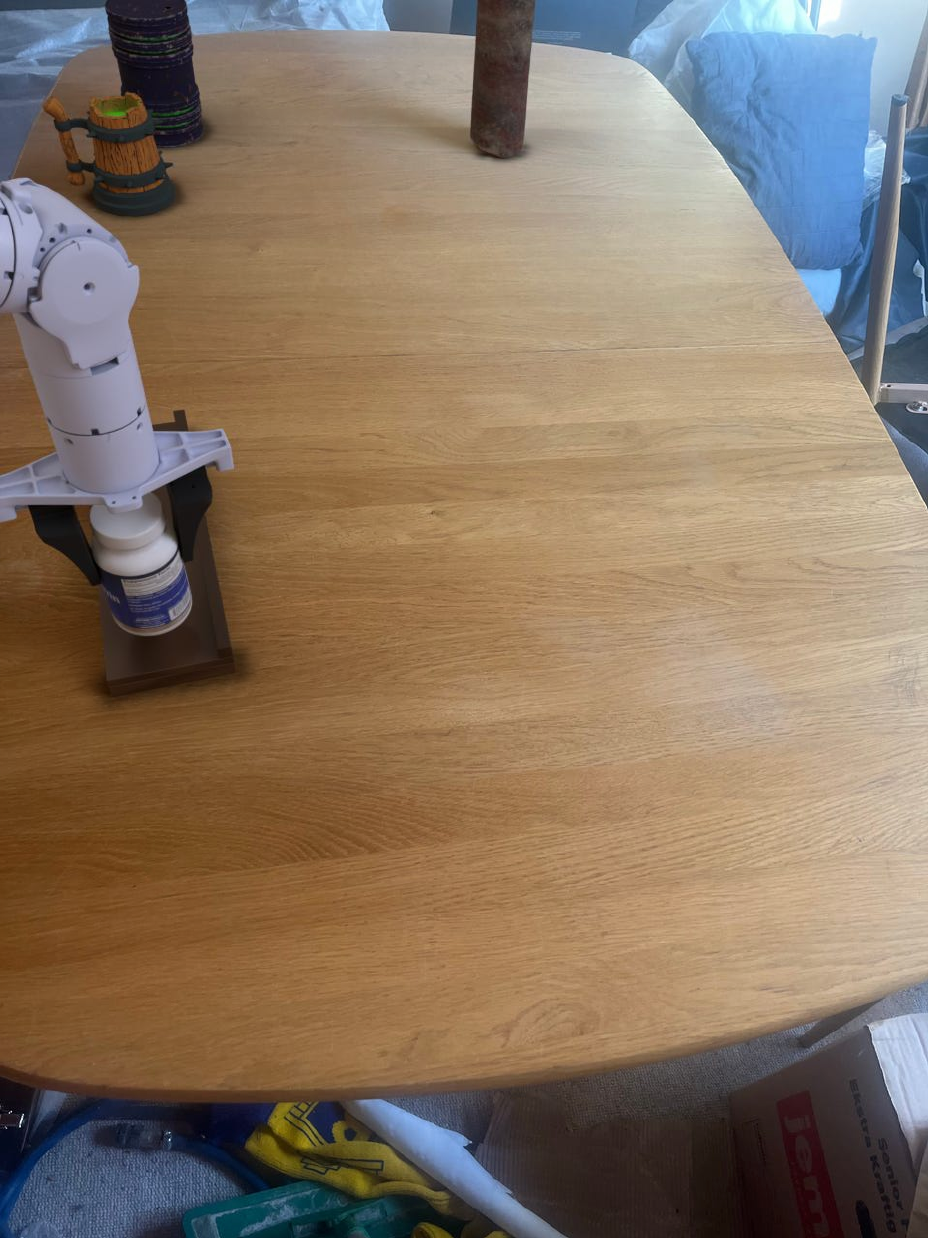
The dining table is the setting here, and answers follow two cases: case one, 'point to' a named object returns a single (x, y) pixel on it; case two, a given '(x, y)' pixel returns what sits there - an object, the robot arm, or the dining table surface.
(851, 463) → the dining table surface
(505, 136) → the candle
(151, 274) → the dining table surface
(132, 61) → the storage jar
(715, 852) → the dining table surface
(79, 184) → the mug
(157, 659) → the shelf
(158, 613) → the pill bottle
